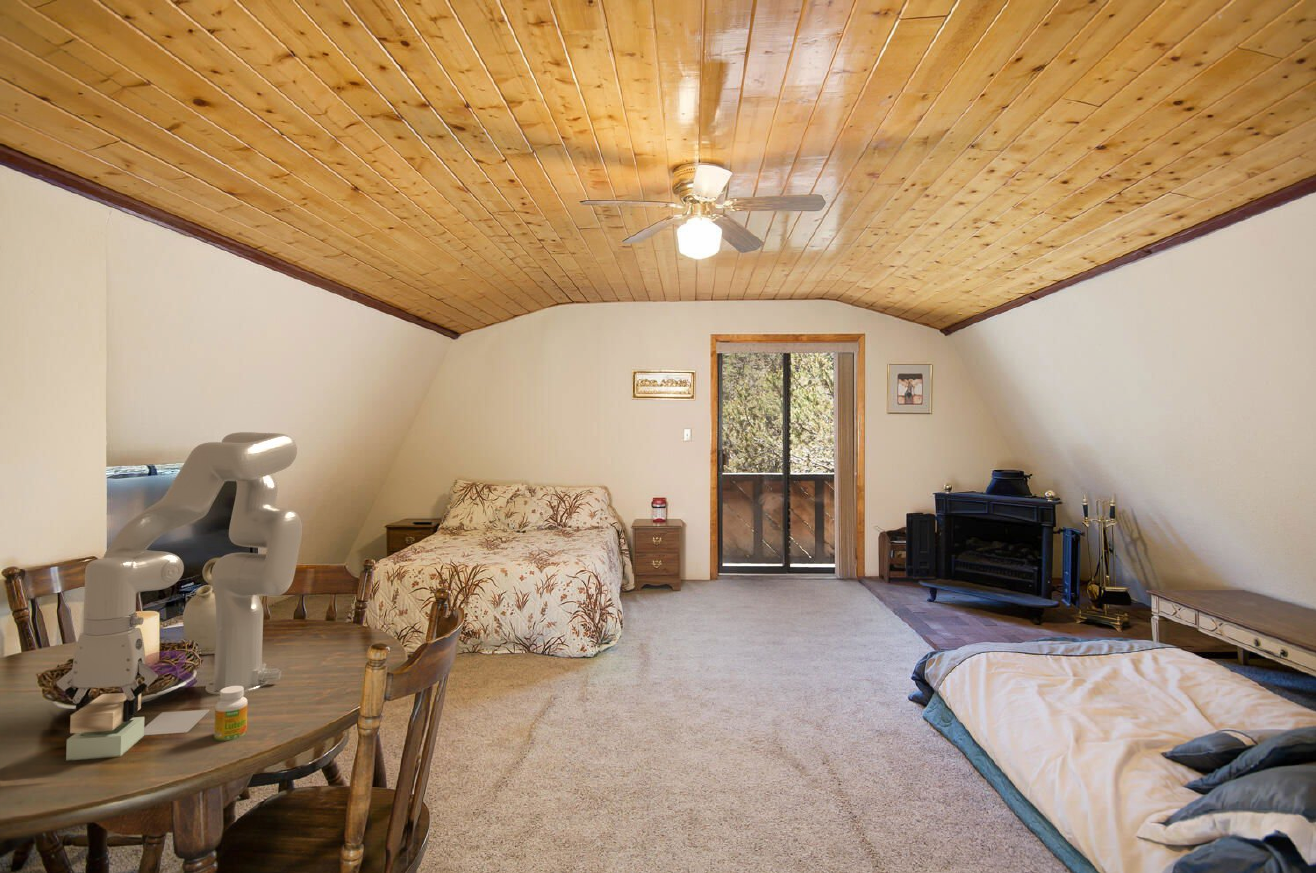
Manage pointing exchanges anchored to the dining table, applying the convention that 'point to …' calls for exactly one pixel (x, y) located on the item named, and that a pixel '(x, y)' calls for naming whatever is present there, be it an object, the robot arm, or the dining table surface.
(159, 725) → the mat
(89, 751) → the sage green tray
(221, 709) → the supplement bottle
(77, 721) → the wooden block
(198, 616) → the jug
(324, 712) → the dining table surface
